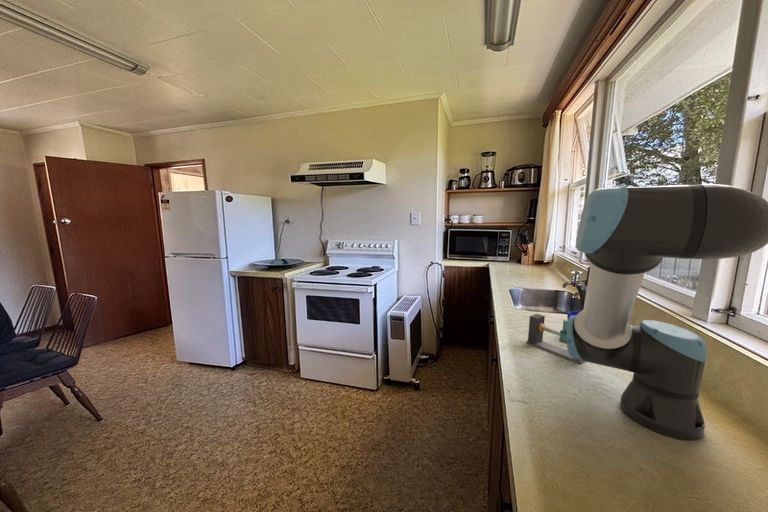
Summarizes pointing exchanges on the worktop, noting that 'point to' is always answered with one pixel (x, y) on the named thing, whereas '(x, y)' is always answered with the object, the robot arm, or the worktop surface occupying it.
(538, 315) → the grey slider rail stand
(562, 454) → the worktop surface
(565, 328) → the sleeve
